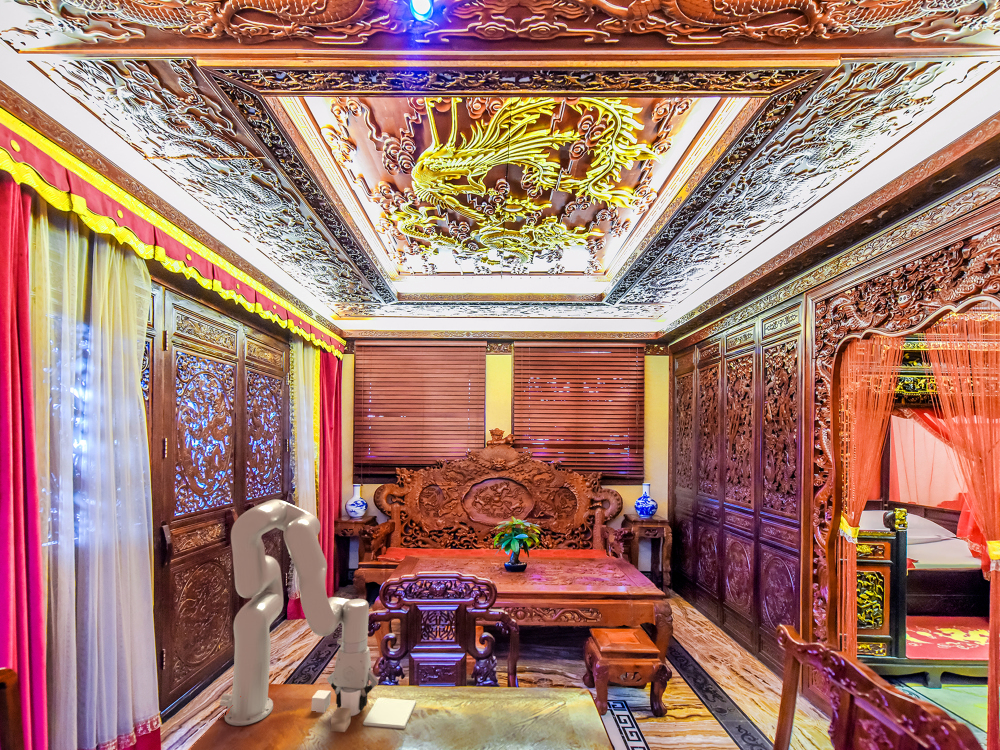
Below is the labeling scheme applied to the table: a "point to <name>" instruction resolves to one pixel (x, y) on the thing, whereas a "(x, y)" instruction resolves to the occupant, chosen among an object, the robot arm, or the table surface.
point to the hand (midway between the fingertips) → (351, 706)
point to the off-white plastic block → (321, 701)
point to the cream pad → (390, 713)
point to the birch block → (340, 719)
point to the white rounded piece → (351, 699)
